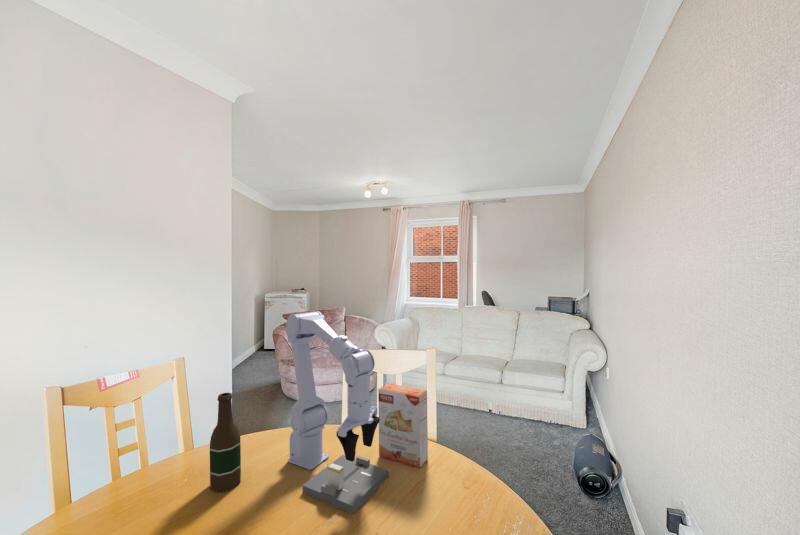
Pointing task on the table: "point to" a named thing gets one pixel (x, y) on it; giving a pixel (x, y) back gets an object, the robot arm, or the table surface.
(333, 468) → the fader tab
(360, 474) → the console
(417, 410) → the cracker box
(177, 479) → the table surface
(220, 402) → the beer bottle
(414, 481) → the table surface
